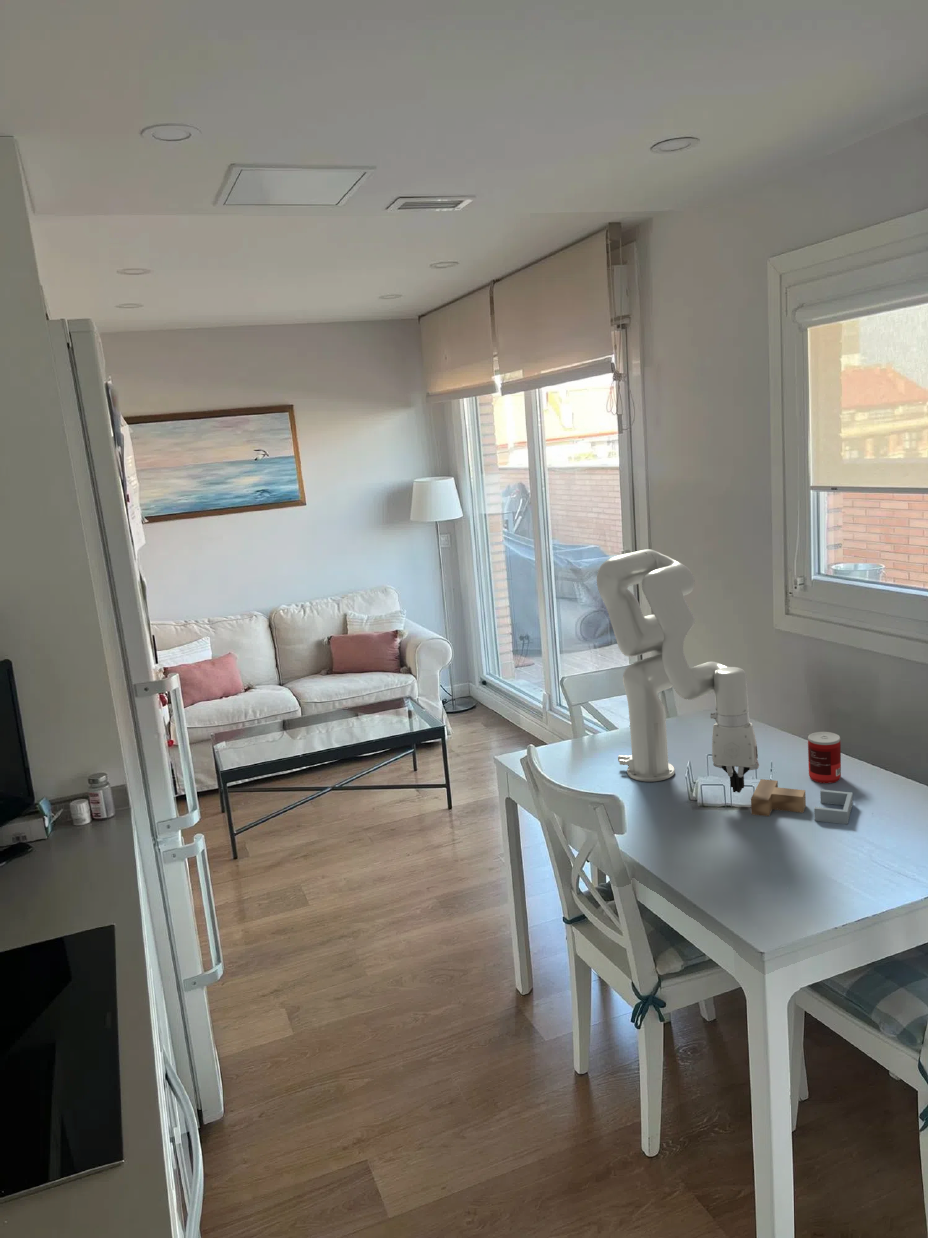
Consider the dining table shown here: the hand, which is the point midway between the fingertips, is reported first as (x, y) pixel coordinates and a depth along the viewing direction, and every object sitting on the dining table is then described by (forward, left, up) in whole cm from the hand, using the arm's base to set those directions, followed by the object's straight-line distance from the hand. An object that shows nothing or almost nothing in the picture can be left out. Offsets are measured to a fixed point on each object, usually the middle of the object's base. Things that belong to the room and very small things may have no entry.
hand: (737, 790), depth 219 cm
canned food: (+17, +20, -4) cm, 27 cm away
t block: (+10, 0, -3) cm, 11 cm away
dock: (+22, 0, -3) cm, 22 cm away
